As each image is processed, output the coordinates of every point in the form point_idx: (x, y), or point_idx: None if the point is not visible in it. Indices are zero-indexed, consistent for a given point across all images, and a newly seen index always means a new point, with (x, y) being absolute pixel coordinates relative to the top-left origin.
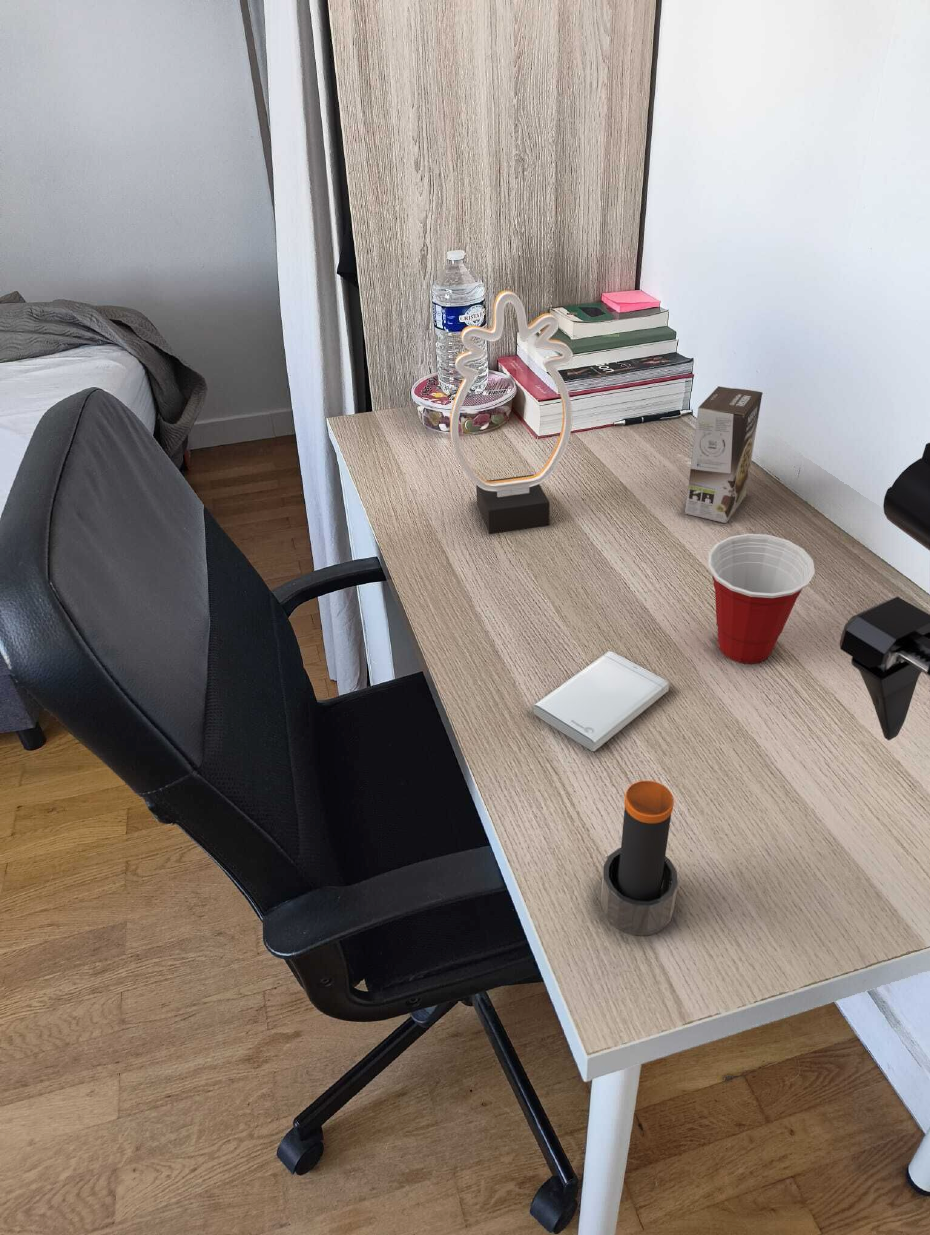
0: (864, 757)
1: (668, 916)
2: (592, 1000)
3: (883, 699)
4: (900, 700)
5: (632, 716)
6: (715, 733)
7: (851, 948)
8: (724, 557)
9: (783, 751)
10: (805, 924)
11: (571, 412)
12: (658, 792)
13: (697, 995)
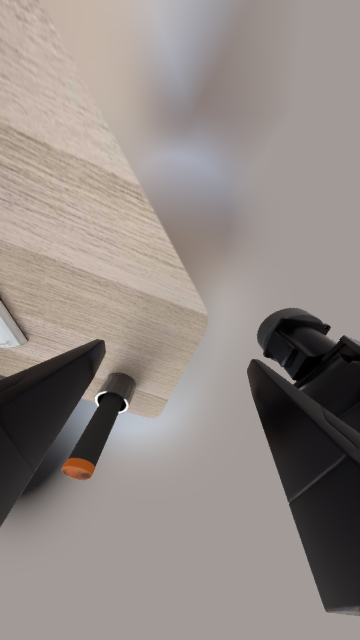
0: (96, 197)
1: (133, 388)
2: (144, 412)
3: (37, 465)
4: (48, 410)
5: (2, 310)
6: (32, 274)
7: (190, 343)
8: None
9: (65, 249)
10: (169, 347)
11: None
12: (74, 469)
13: (164, 393)
